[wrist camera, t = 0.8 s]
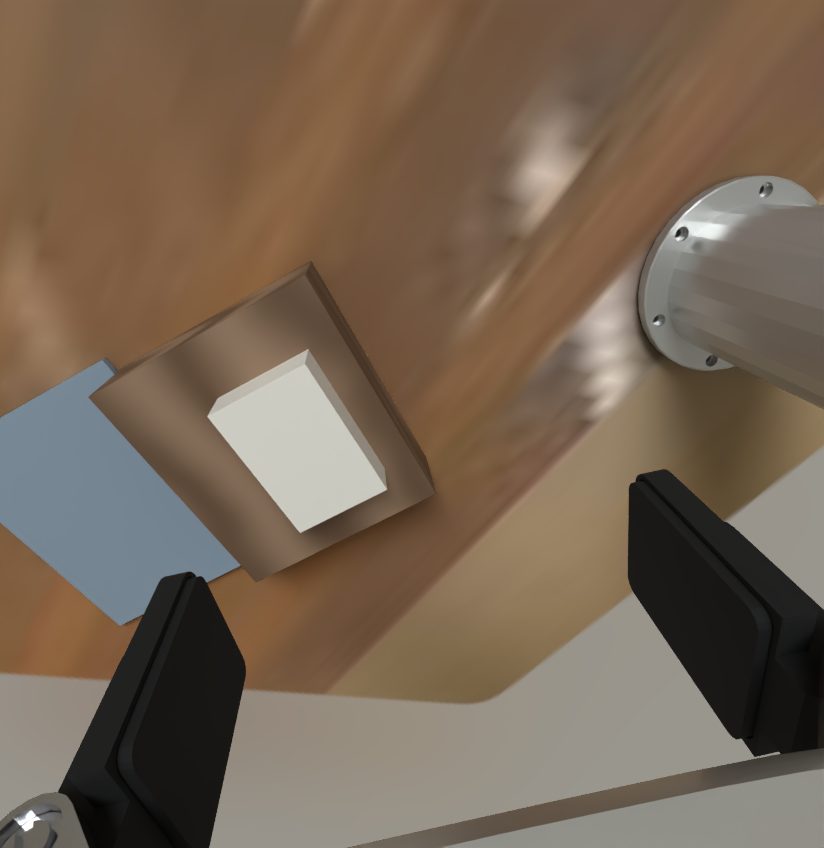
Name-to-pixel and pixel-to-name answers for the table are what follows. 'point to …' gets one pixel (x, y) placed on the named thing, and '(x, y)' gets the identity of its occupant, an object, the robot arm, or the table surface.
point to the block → (300, 442)
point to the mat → (96, 501)
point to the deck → (234, 366)
